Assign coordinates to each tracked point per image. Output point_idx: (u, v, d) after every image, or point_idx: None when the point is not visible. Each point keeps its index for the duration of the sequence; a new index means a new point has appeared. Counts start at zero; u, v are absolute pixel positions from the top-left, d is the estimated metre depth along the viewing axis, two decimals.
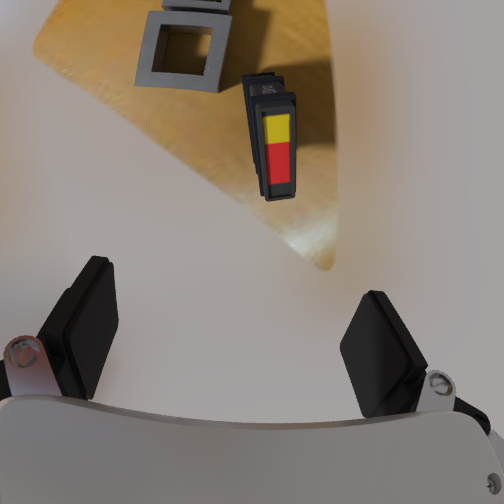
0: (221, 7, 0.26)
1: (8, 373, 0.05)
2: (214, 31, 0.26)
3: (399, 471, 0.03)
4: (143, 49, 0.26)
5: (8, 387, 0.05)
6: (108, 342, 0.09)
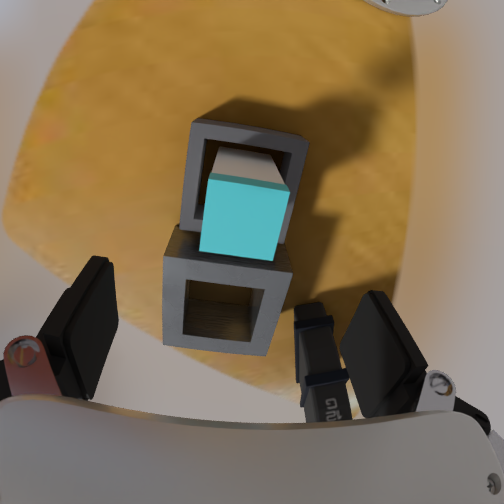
0: None
1: (8, 373, 0.05)
2: (266, 294, 0.23)
3: (400, 471, 0.03)
4: (167, 309, 0.24)
5: (8, 387, 0.05)
6: (108, 342, 0.09)
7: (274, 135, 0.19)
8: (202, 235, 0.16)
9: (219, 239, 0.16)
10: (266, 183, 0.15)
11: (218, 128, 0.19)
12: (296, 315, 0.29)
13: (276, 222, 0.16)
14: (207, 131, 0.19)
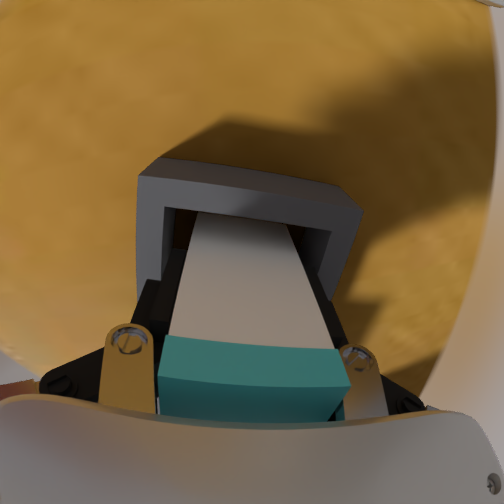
0: None
1: (105, 354, 0.06)
2: None
3: (399, 471, 0.03)
4: None
5: (100, 365, 0.06)
6: None
7: (300, 198, 0.10)
8: None
9: None
10: (297, 360, 0.06)
11: (189, 187, 0.10)
12: None
13: None
14: (169, 193, 0.10)
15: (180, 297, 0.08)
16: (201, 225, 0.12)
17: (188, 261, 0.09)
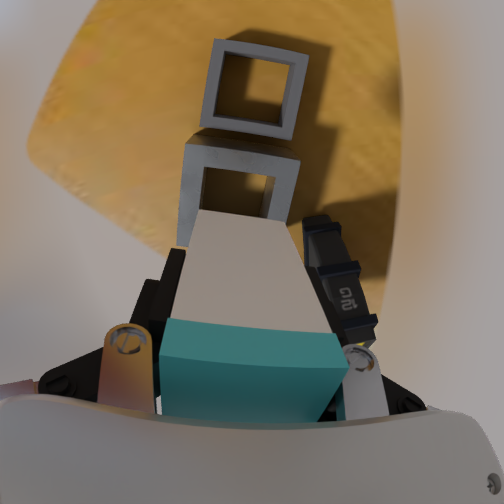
0: (282, 135, 0.25)
1: (104, 354, 0.06)
2: (277, 183, 0.25)
3: (400, 471, 0.03)
4: (184, 201, 0.25)
5: (99, 365, 0.06)
6: None
7: (280, 49, 0.21)
8: None
9: None
10: (295, 343, 0.07)
11: (235, 43, 0.20)
12: (304, 224, 0.31)
13: (312, 411, 0.07)
14: (227, 45, 0.20)
15: (182, 284, 0.08)
16: (202, 221, 0.12)
17: (189, 253, 0.10)
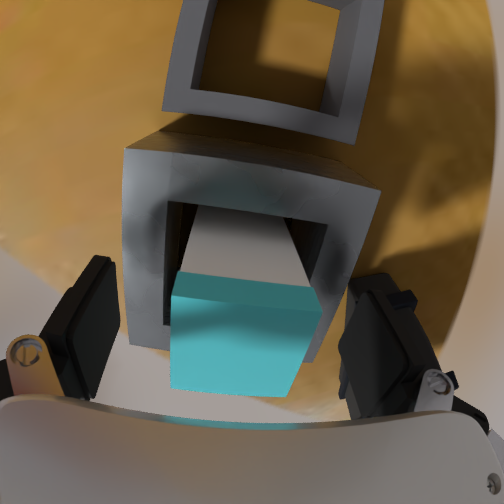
0: (338, 133, 0.11)
1: (10, 372, 0.05)
2: (329, 236, 0.12)
3: (399, 471, 0.03)
4: (132, 272, 0.12)
5: (10, 386, 0.05)
6: (110, 341, 0.09)
7: None
8: (172, 371, 0.09)
9: (200, 377, 0.09)
10: (279, 291, 0.09)
11: None
12: (355, 293, 0.18)
13: (295, 354, 0.09)
14: None
15: (189, 249, 0.10)
16: None
17: (195, 226, 0.12)
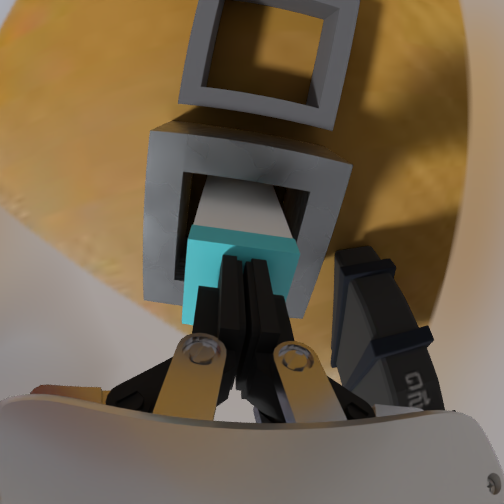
0: (319, 121, 0.14)
1: (174, 359, 0.07)
2: (311, 202, 0.14)
3: (399, 471, 0.03)
4: (151, 232, 0.15)
5: (165, 368, 0.07)
6: None
7: None
8: (184, 306, 0.12)
9: None
10: (268, 239, 0.12)
11: None
12: (340, 261, 0.20)
13: (281, 291, 0.12)
14: None
15: (199, 211, 0.13)
16: (211, 179, 0.17)
17: (203, 196, 0.15)
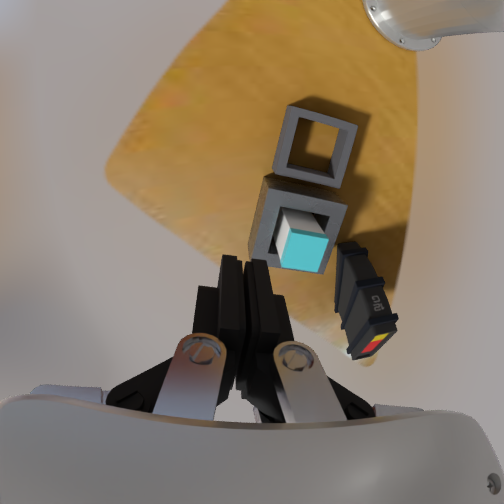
0: (334, 184, 0.34)
1: (174, 359, 0.07)
2: (330, 220, 0.34)
3: (399, 471, 0.03)
4: (261, 230, 0.34)
5: (165, 368, 0.07)
6: None
7: (338, 119, 0.31)
8: (284, 259, 0.32)
9: (292, 261, 0.32)
10: (317, 234, 0.32)
11: (307, 112, 0.30)
12: (340, 248, 0.40)
13: (321, 253, 0.32)
14: (301, 112, 0.30)
15: (288, 222, 0.33)
16: (283, 207, 0.37)
17: (285, 216, 0.34)
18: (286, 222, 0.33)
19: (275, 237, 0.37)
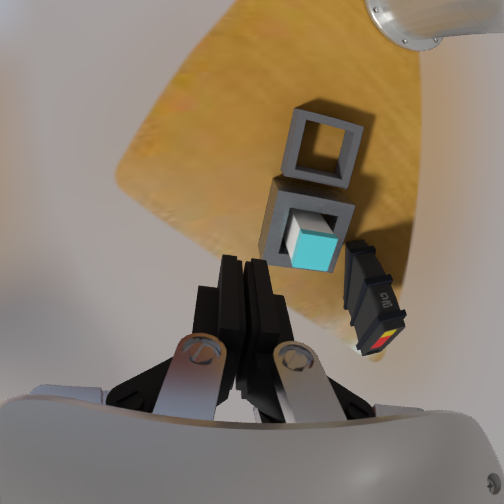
0: (341, 185, 0.35)
1: (174, 359, 0.07)
2: (338, 220, 0.35)
3: (399, 471, 0.03)
4: (272, 231, 0.35)
5: (165, 368, 0.07)
6: None
7: (345, 121, 0.31)
8: (295, 259, 0.33)
9: (303, 261, 0.33)
10: (326, 234, 0.32)
11: (314, 114, 0.31)
12: (348, 247, 0.41)
13: (330, 253, 0.32)
14: (308, 115, 0.31)
15: (298, 223, 0.33)
16: (292, 208, 0.38)
17: (295, 216, 0.35)
18: (296, 223, 0.34)
19: (285, 237, 0.38)
